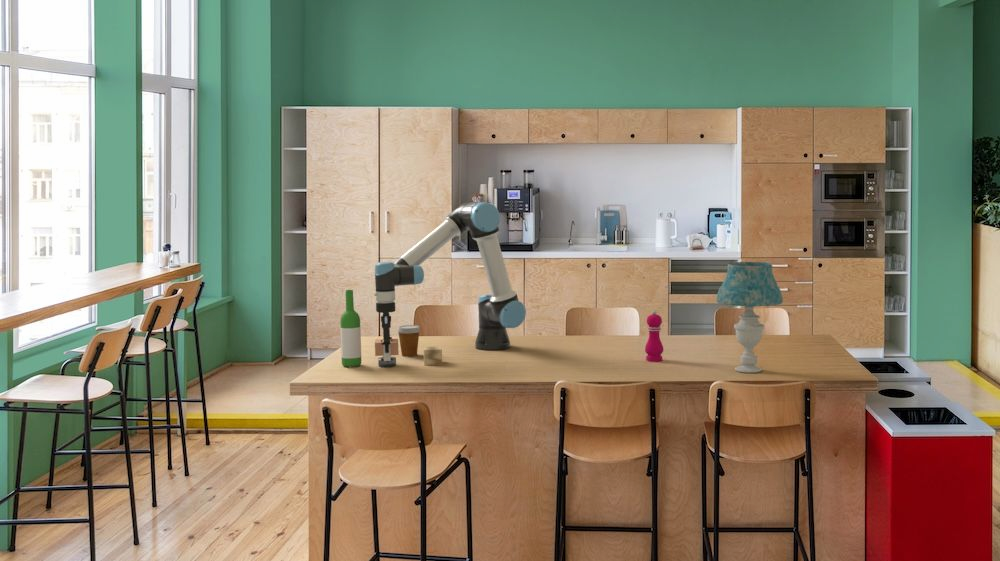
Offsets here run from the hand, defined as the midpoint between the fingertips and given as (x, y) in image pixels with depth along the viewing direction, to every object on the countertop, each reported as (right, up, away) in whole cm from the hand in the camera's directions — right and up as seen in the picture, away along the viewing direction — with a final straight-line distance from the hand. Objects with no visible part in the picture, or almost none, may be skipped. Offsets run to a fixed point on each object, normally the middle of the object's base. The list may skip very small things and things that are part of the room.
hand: (387, 358), depth 389 cm
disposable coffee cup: (+7, -1, +22) cm, 23 cm away
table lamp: (+137, -3, -20) cm, 138 cm away
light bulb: (0, -3, 0) cm, 3 cm away
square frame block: (0, +2, 0) cm, 2 cm away
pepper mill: (+105, -1, +2) cm, 105 cm away
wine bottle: (-14, -3, +2) cm, 15 cm away
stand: (+18, -2, +4) cm, 18 cm away
